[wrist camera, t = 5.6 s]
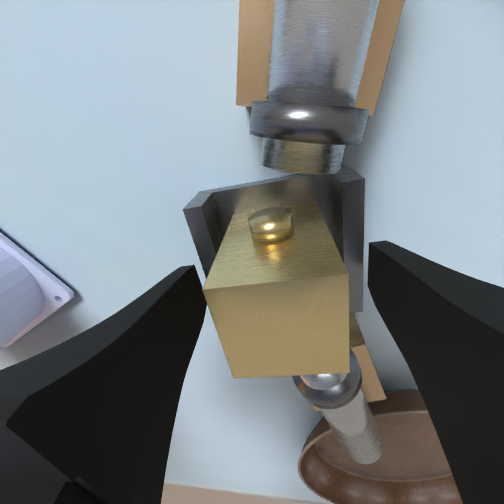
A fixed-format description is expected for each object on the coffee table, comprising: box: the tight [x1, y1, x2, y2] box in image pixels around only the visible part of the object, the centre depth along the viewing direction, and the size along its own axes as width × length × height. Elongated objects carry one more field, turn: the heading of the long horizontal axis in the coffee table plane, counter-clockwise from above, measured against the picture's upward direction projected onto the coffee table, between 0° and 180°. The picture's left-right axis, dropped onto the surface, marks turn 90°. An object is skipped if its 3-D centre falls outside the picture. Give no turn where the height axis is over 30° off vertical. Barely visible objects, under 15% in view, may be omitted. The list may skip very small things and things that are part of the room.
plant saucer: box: [298, 390, 463, 504], centre depth 21 cm, size 18×18×3 cm
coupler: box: [202, 202, 350, 378], centre depth 10 cm, size 6×4×6 cm
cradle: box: [183, 166, 365, 313], centre depth 12 cm, size 6×7×3 cm
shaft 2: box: [293, 312, 386, 464], centre depth 14 cm, size 8×4×6 cm, turn 26°
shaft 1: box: [236, 0, 404, 175], centre depth 7 cm, size 8×4×6 cm, turn 176°
